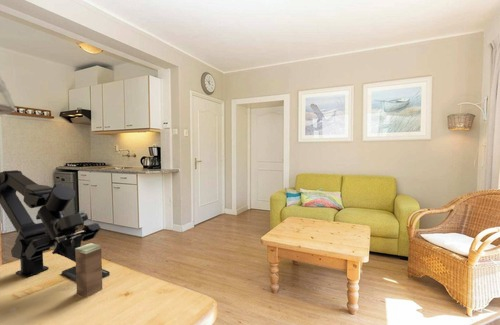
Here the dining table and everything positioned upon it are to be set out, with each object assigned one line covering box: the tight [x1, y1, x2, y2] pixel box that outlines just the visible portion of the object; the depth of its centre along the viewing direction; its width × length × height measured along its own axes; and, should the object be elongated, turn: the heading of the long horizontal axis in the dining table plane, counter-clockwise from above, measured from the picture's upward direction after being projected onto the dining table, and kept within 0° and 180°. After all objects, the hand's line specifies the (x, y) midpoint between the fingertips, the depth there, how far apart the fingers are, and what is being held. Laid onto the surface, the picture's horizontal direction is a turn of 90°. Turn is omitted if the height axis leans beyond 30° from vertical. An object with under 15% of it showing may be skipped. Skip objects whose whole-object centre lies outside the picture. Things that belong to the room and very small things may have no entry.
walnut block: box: [75, 242, 103, 298], centre depth 73 cm, size 4×4×13 cm
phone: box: [61, 265, 111, 282], centre depth 83 cm, size 8×1×15 cm
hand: (80, 262), depth 74 cm, fingers closed
